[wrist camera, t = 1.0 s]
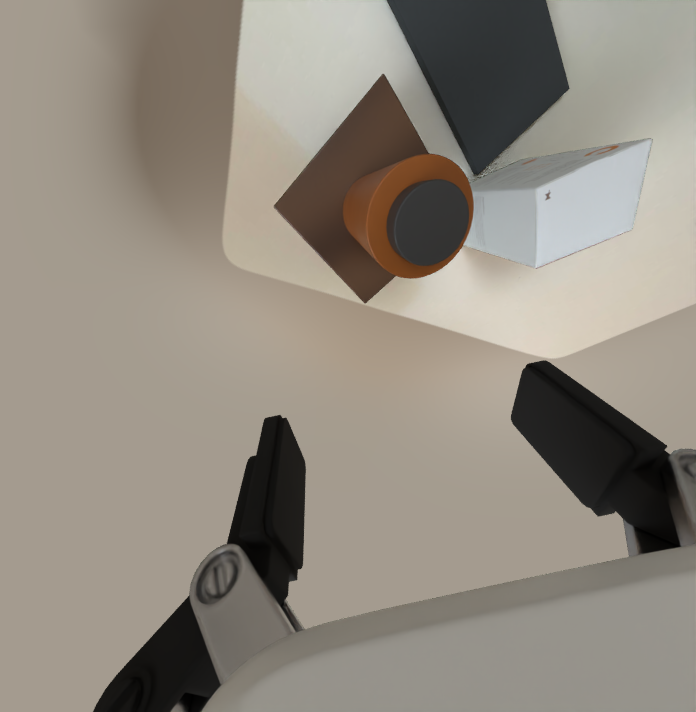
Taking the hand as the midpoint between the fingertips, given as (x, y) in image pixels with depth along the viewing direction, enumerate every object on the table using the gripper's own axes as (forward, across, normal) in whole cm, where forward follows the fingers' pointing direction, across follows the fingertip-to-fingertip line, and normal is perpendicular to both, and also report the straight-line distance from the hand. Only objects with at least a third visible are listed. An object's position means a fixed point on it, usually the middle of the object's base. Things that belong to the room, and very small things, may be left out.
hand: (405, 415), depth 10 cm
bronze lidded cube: (+26, -2, -6) cm, 27 cm away
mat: (+26, -14, -19) cm, 35 cm away
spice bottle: (+14, -2, -6) cm, 15 cm away
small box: (+26, -18, -3) cm, 32 cm away
